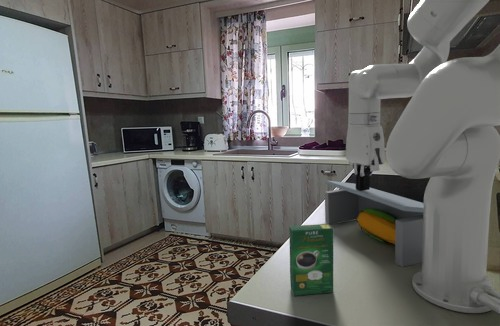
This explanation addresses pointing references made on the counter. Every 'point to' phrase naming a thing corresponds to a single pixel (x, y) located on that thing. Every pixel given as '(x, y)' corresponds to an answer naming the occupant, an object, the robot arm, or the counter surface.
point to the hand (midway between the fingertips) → (362, 189)
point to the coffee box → (311, 259)
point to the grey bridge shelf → (407, 222)
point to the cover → (381, 197)
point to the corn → (377, 224)
